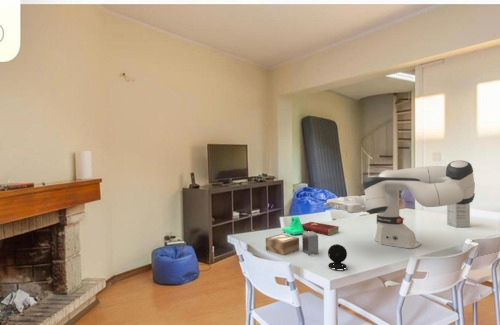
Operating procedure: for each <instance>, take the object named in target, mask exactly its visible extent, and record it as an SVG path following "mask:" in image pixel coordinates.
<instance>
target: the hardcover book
mask: <svg viewBox="0 0 500 325" xmlns="http://www.w3.org/2000/svg"><path fill="white" fill-rule="evenodd" d="M301 224H302V227H303V230H304V232H308V231H312V232H315V233H317V235H323V236H328V237H329V236H331V235H335V234H337V233H339V228H340V225H339V226H338V225H332V224H326V223H321V222H320V223H319V222H315V221H309V222H305V223H301Z"/></svg>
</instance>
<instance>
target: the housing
mask: <svg viewBox="0 0 500 325" xmlns="http://www.w3.org/2000/svg"><path fill="white" fill-rule="evenodd" d="M301 235H302V237H301V238H302V241H301V242H302V253H303V252H304V253H303V254H305V253H306V255H307V254H308V255H307V256H311V255H310V254H314V255H318V254H319V234H318V233H315V232H312V231H309V232H308V231H304V232H303V233H301ZM317 253H318V254H317Z"/></svg>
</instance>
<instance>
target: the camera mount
mask: <svg viewBox="0 0 500 325" xmlns="http://www.w3.org/2000/svg"><path fill="white" fill-rule="evenodd" d="M289 224H290V225H289V226H287V227H282V232H285V234H286V233H287V234H286V235H289V234H290V235H289V236H292V235H300V234H303V232H305V231H304V230H303V227H302V224H303V223H302V222H301V220H300V217H299V216H298V215H297V216H291V217H290V223H289ZM291 234H292V235H291Z"/></svg>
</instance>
